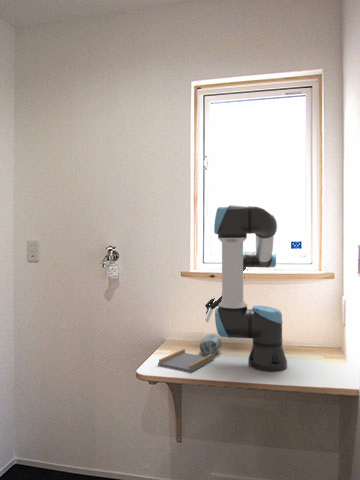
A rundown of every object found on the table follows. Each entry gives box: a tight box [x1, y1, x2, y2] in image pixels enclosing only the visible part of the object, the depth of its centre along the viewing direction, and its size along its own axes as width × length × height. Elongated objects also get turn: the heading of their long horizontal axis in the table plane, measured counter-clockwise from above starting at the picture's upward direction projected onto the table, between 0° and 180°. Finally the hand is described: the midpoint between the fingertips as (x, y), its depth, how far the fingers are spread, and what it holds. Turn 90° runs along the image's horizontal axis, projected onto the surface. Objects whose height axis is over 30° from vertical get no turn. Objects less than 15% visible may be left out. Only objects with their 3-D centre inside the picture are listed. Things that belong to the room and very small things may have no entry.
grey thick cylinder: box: [199, 333, 222, 357], centre depth 169 cm, size 14×10×10 cm
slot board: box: [157, 348, 215, 374], centre depth 156 cm, size 16×18×2 cm
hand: (219, 322), depth 177 cm, fingers open, 13 cm apart
